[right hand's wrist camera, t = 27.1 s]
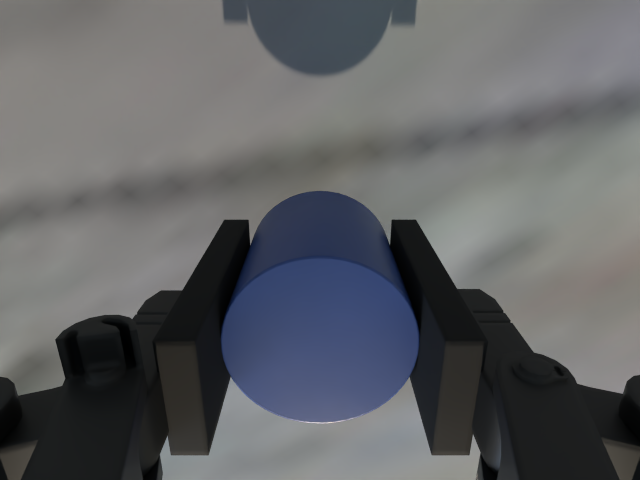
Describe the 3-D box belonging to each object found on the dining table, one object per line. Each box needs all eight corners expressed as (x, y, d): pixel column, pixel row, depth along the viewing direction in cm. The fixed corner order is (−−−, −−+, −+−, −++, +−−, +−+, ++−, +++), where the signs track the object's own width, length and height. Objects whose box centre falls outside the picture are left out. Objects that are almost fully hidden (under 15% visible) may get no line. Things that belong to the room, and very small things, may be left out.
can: (276, 329, 16) (258, 441, 11) (231, 213, 14) (188, 287, 10) (402, 297, 15) (437, 400, 11) (370, 173, 14) (395, 231, 9)
